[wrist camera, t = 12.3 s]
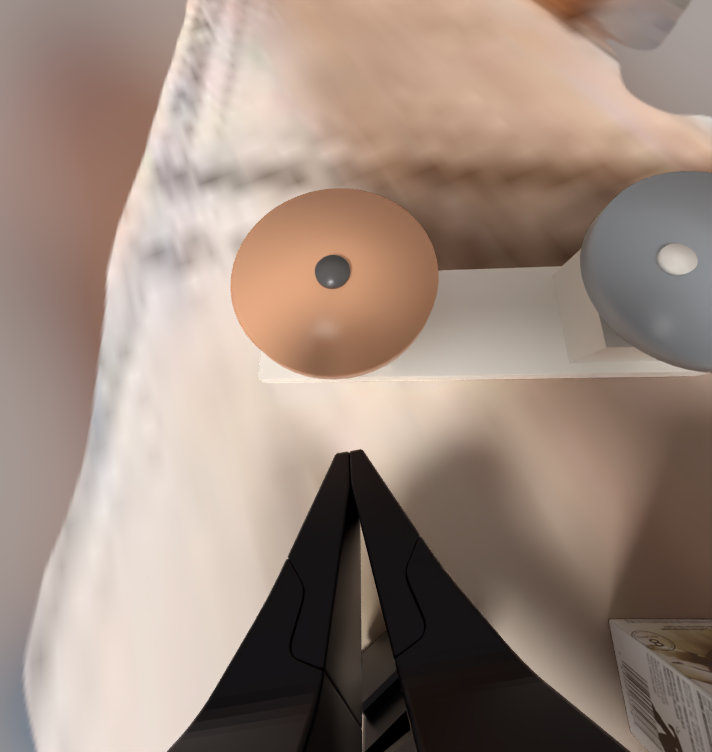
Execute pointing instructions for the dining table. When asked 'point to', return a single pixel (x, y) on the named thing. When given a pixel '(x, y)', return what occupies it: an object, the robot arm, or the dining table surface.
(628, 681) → the coffee box
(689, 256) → the two dot key
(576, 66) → the dining table surface
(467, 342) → the key console
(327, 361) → the brown round domed piece
